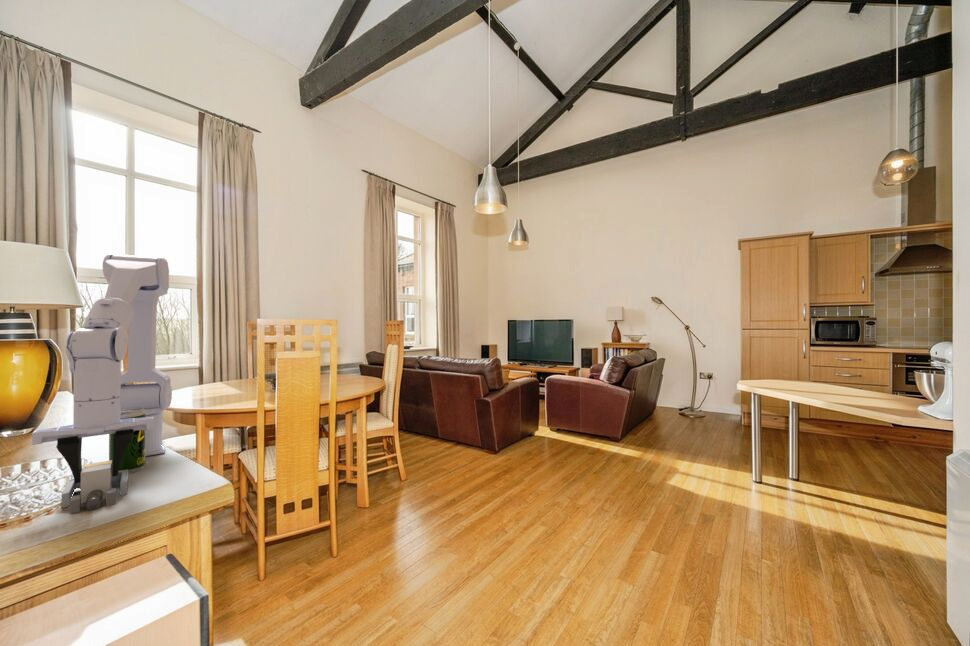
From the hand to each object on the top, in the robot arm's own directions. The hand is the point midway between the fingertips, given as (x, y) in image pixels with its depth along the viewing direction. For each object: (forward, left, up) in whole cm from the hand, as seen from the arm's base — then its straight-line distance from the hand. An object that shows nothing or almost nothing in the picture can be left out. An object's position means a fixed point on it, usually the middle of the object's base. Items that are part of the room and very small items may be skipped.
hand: (97, 477), depth 67 cm
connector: (+2, 0, -3) cm, 4 cm away
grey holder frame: (+1, 0, -3) cm, 3 cm away
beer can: (-11, +3, -3) cm, 12 cm away
